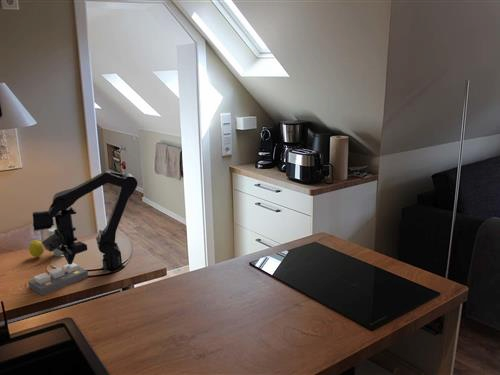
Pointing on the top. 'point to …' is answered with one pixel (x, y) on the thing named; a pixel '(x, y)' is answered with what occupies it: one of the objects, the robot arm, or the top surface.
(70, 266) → the button
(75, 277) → the button board
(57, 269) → the middle button
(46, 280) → the button
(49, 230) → the coffee cup
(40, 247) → the lemon
